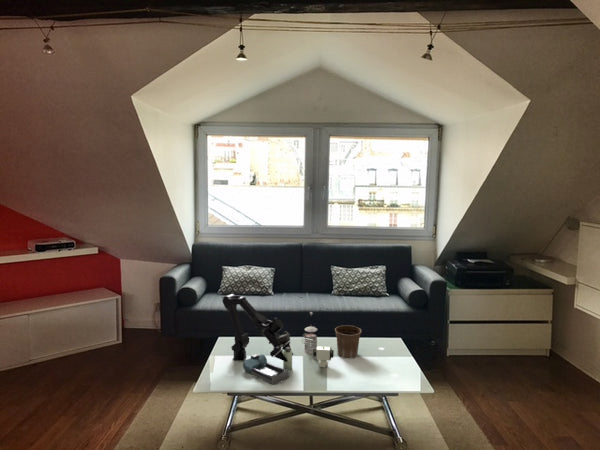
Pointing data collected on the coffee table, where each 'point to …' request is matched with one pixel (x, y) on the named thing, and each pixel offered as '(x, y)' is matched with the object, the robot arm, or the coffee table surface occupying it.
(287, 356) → the pale green bottle
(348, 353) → the plant pot
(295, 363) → the coffee table surface
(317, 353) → the pneumatic valve
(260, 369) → the grey tray with cylinder
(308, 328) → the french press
